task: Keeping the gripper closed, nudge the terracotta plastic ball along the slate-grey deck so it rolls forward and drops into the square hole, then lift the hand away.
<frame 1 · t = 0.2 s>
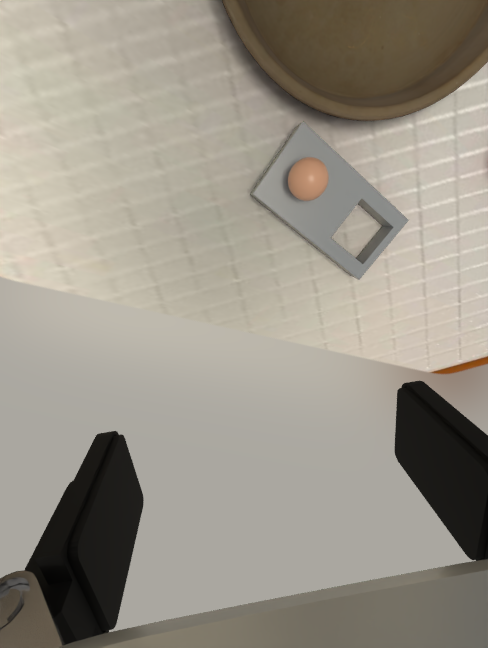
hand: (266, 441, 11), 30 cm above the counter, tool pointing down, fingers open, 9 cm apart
deck: (326, 207, 38), on the counter
ball: (308, 179, 32), point 4 cm above the counter, touching deck
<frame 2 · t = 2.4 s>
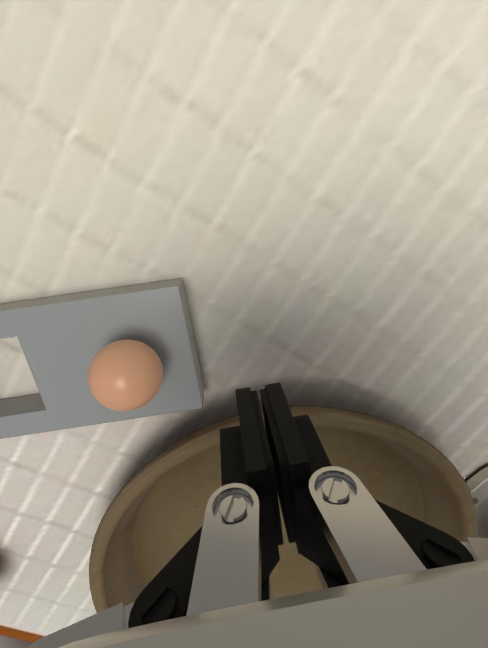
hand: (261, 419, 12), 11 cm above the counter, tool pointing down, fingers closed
deck: (79, 353, 22), on the counter
plant saucer: (280, 528, 30), on the counter
ball: (126, 374, 18), point 4 cm above the counter, touching deck
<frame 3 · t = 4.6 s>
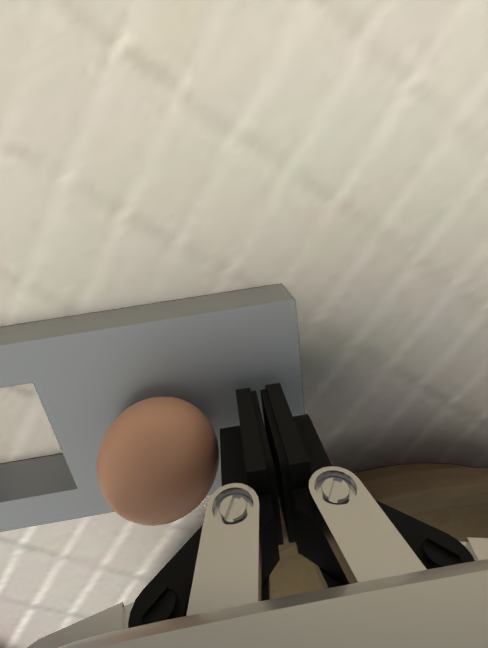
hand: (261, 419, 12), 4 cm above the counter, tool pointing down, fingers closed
deck: (121, 396, 15), on the counter
plant saucer: (371, 602, 23), on the counter
ball: (160, 456, 11), point 4 cm above the counter, tilted 9°, touching deck, gripper
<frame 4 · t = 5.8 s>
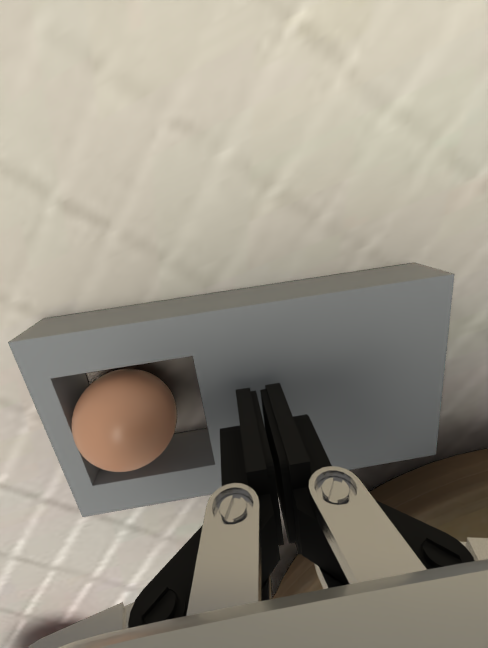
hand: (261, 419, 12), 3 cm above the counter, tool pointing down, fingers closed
deck: (245, 375, 15), on the counter
plant saucer: (449, 587, 23), on the counter
ball: (127, 418, 13), point 2 cm above the counter, tilted 153°
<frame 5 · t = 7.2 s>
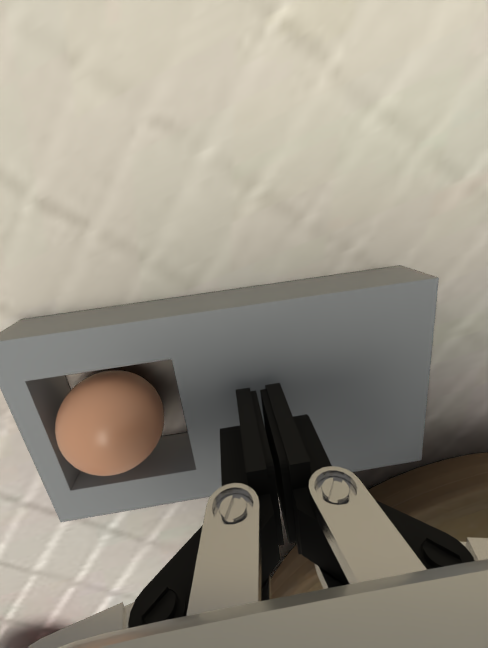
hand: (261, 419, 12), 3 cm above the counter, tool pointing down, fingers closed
deck: (229, 378, 15), on the counter
plant saucer: (438, 592, 23), on the counter
ball: (112, 420, 13), point 2 cm above the counter, tilted 145°
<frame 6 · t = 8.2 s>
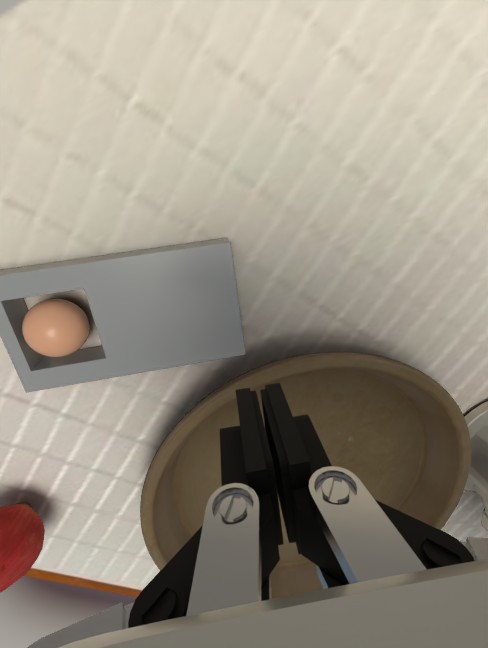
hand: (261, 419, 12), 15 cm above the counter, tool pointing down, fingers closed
onion: (25, 504, 30), on the counter
deck: (130, 308, 25), on the counter
plant saucer: (300, 469, 34), on the counter
ball: (57, 327, 22), point 2 cm above the counter, tilted 140°
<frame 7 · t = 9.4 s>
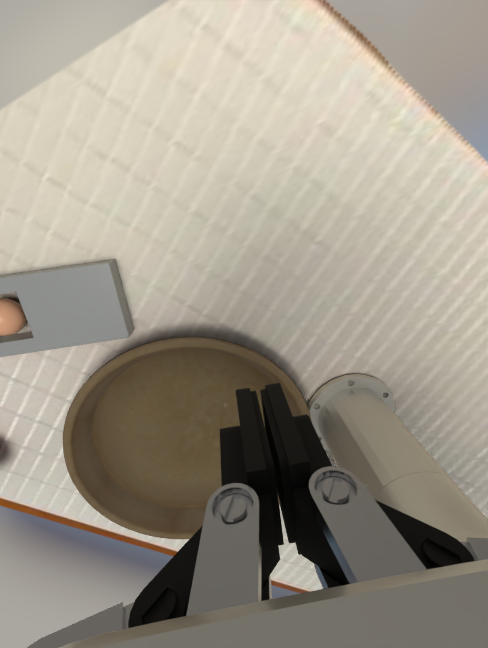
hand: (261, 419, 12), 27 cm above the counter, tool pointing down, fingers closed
deck: (54, 306, 37), on the counter
plant saucer: (194, 429, 45), on the counter
ball: (4, 316, 35), point 2 cm above the counter, tilted 133°
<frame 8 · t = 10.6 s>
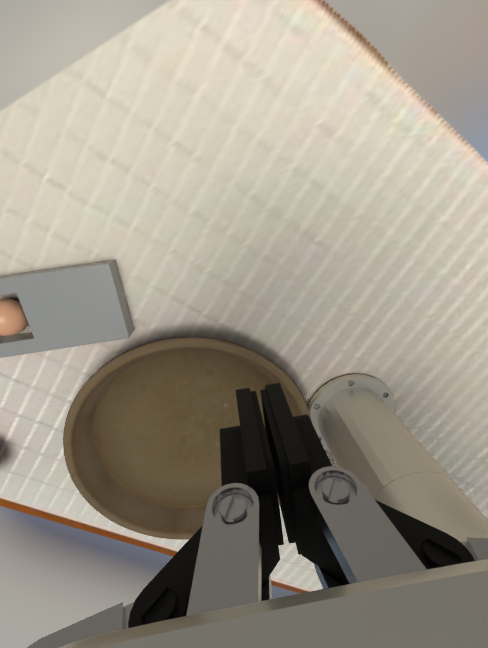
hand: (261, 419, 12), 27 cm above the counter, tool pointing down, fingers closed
deck: (54, 306, 37), on the counter
plant saucer: (194, 429, 45), on the counter
ball: (6, 317, 35), point 2 cm above the counter, tilted 126°
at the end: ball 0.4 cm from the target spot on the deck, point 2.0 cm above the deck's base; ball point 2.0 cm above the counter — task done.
